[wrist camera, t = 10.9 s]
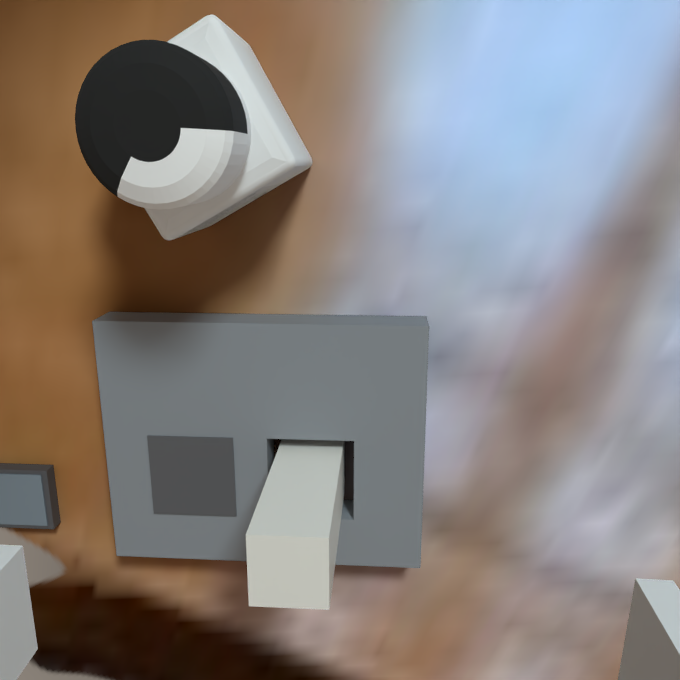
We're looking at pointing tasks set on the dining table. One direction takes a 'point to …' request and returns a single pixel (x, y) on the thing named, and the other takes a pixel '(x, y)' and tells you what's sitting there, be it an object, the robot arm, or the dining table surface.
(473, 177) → the dining table surface
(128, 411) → the outlet plate
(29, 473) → the phone
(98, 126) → the container
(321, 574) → the light grey rectangular block
